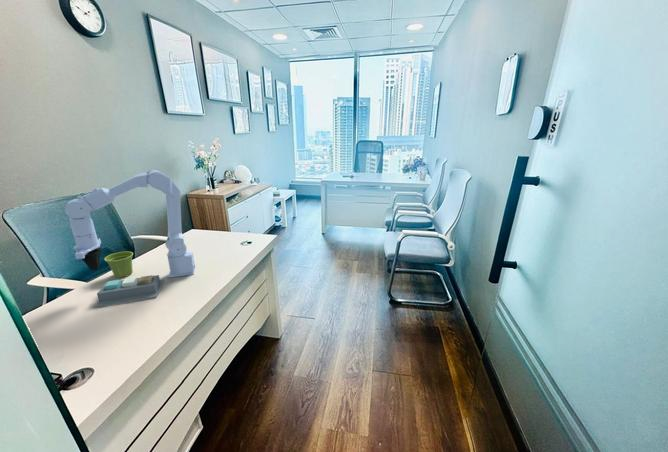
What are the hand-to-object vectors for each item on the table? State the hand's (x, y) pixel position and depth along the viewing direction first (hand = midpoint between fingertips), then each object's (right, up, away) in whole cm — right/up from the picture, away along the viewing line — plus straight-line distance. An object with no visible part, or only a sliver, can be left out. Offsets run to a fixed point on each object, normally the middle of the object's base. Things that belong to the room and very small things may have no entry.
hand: (94, 269), depth 95 cm
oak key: (+16, -7, +5) cm, 18 cm away
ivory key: (+11, -8, +3) cm, 14 cm away
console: (+11, -10, +3) cm, 15 cm away
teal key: (+6, -8, +1) cm, 10 cm away
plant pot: (-3, -5, +17) cm, 18 cm away
